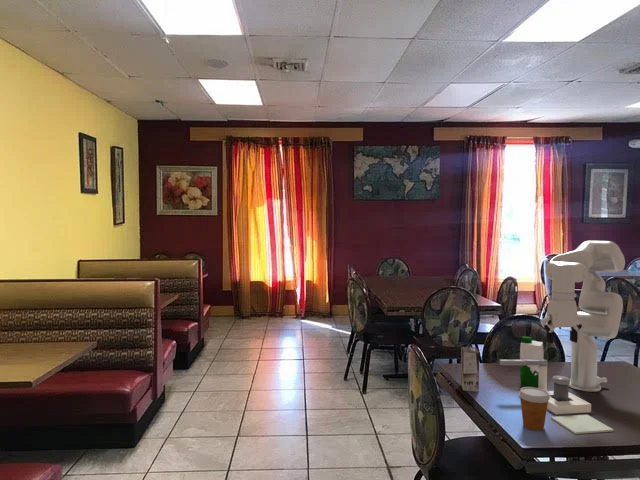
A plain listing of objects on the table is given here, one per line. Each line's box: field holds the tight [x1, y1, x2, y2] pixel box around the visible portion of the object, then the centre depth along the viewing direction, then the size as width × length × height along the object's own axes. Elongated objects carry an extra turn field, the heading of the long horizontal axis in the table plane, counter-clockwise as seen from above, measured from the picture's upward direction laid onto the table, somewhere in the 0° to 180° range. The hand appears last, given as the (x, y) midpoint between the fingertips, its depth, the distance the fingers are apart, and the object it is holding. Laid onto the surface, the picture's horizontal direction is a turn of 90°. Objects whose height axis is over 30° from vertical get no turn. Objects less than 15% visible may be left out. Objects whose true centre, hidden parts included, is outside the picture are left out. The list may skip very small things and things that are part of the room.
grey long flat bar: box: [499, 359, 548, 367], centre depth 183 cm, size 19×3×2 cm, turn 90°
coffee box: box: [460, 346, 480, 392], centre depth 191 cm, size 9×6×16 cm
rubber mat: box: [550, 414, 614, 435], centre depth 156 cm, size 14×12×1 cm
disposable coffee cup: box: [518, 386, 550, 432], centre depth 155 cm, size 10×10×12 cm
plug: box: [552, 375, 571, 402], centre depth 173 cm, size 6×6×10 cm
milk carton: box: [519, 335, 545, 388], centre depth 196 cm, size 9×9×20 cm
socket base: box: [538, 365, 592, 415], centre depth 176 cm, size 14×20×12 cm
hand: (561, 342), depth 172 cm, fingers open, 9 cm apart
